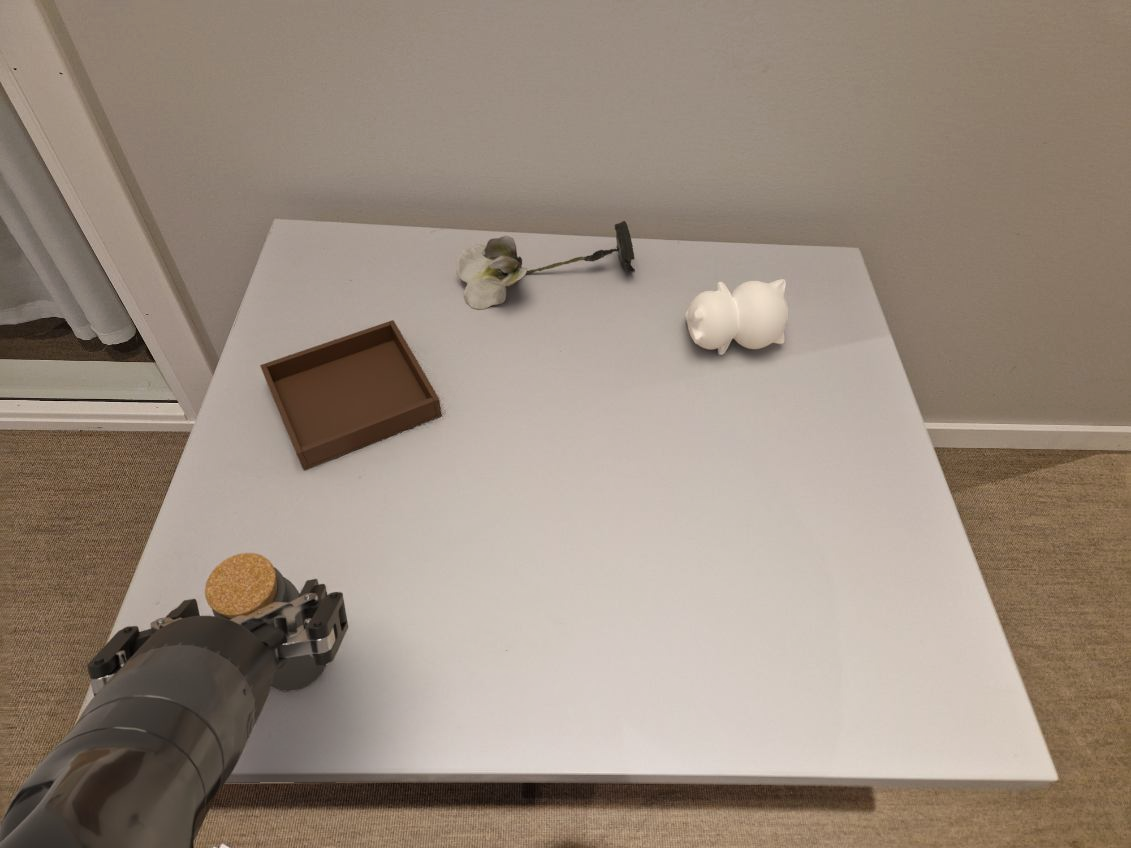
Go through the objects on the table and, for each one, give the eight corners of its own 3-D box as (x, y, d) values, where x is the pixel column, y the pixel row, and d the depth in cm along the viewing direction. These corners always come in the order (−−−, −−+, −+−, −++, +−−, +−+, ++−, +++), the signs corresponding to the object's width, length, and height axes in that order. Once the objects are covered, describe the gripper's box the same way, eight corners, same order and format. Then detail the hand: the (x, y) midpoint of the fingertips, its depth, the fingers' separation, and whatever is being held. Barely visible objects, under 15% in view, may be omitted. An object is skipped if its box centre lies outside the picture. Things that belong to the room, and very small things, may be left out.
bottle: (297, 612, 65) (245, 530, 53) (344, 650, 63) (301, 574, 51) (245, 665, 62) (177, 591, 50) (292, 706, 60) (233, 640, 48)
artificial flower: (641, 296, 94) (647, 252, 84) (468, 328, 93) (455, 286, 83) (626, 239, 97) (630, 190, 87) (458, 268, 96) (444, 222, 86)
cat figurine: (696, 291, 79) (802, 279, 80) (669, 276, 89) (763, 265, 90) (698, 369, 82) (799, 355, 83) (671, 346, 92) (762, 334, 93)
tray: (303, 470, 74) (296, 453, 72) (267, 382, 81) (259, 364, 78) (442, 416, 79) (439, 398, 77) (397, 337, 86) (393, 319, 83)
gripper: (307, 623, 38) (346, 537, 54) (9, 675, 36) (141, 569, 52) (330, 754, 39) (361, 632, 55) (42, 812, 37) (161, 667, 53)
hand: (254, 601), depth 53 cm, fingers open, 8 cm apart
